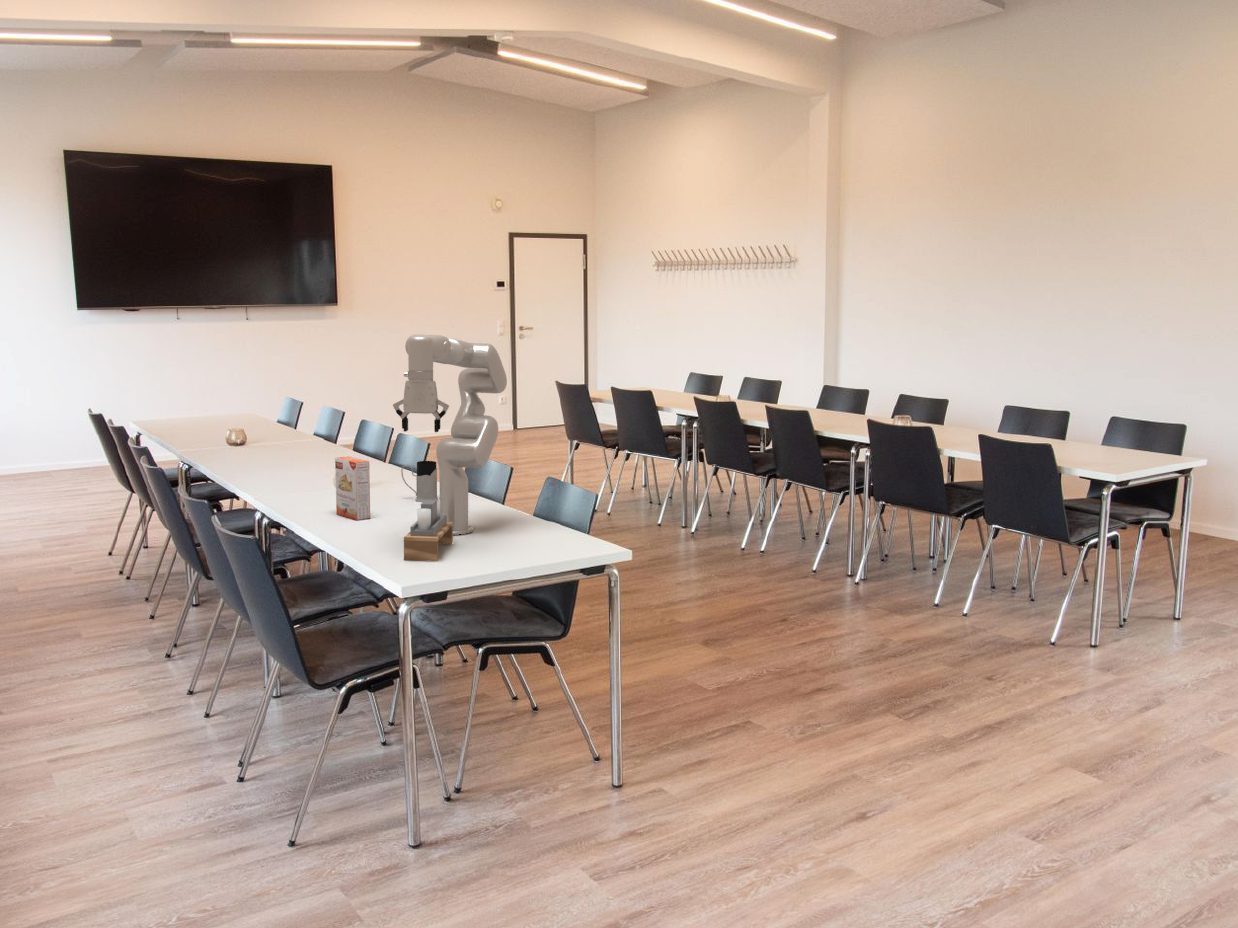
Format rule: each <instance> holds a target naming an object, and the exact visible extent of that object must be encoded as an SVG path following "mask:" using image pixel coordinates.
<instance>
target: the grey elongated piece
mask: <svg viewBox="0 0 1238 928" xmlns="http://www.w3.org/2000/svg"><path fill="white" fill-rule="evenodd" d="M416 510H417V516H416V517H417V519H416V521H415V522H414V523H413V524H412V525H411V526H410V530H409V532H410V533H411V536H435V535H436V534H437V533H438V532H439V531H440V530H441V529H442V528H443V527H444V525H445V524H446V523H447V515H443V516H442V517H441V518H440V499H438V500H425V501H424V502H421V503H420V508H418V509H416Z"/></svg>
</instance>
